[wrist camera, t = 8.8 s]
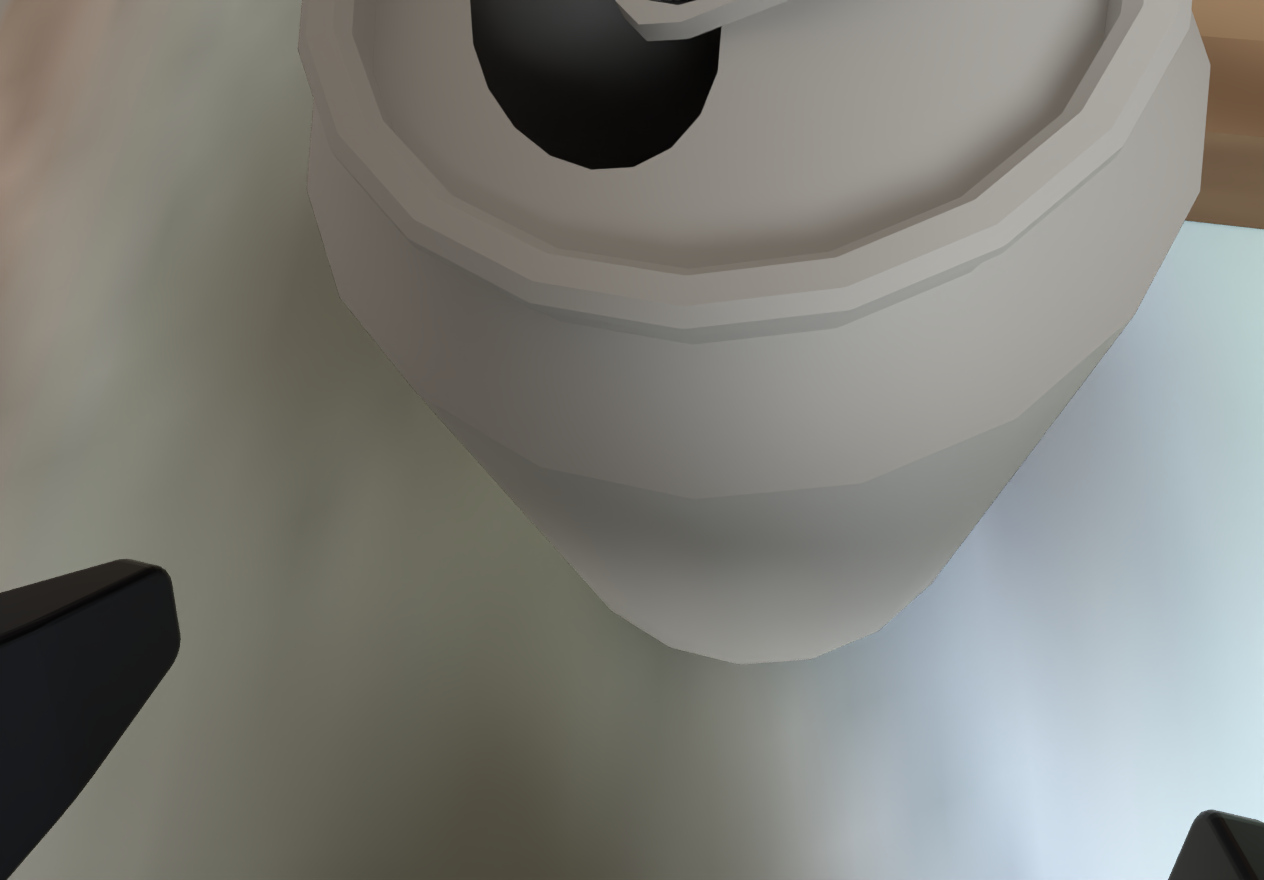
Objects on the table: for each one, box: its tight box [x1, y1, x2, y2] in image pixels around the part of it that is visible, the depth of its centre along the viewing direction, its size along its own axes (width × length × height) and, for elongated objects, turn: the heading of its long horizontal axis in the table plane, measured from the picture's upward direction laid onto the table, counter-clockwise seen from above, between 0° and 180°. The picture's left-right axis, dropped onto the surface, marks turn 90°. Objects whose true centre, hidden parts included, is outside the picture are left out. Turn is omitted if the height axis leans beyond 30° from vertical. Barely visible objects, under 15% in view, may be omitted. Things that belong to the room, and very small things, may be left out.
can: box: [298, 0, 1211, 665], centre depth 12 cm, size 8×8×12 cm
